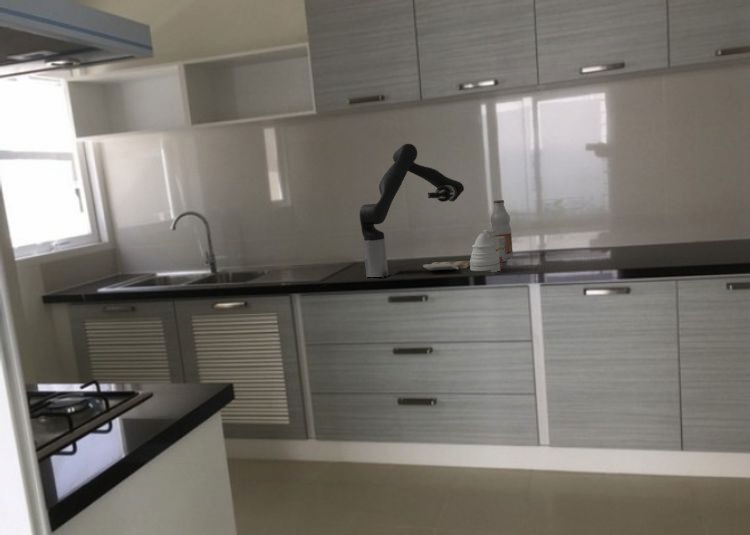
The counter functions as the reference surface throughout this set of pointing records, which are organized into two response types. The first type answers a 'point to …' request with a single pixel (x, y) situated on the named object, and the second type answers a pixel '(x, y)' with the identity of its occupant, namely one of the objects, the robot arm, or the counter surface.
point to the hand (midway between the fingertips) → (435, 195)
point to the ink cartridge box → (498, 245)
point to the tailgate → (441, 266)
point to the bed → (456, 263)
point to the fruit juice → (502, 226)
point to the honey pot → (484, 254)
